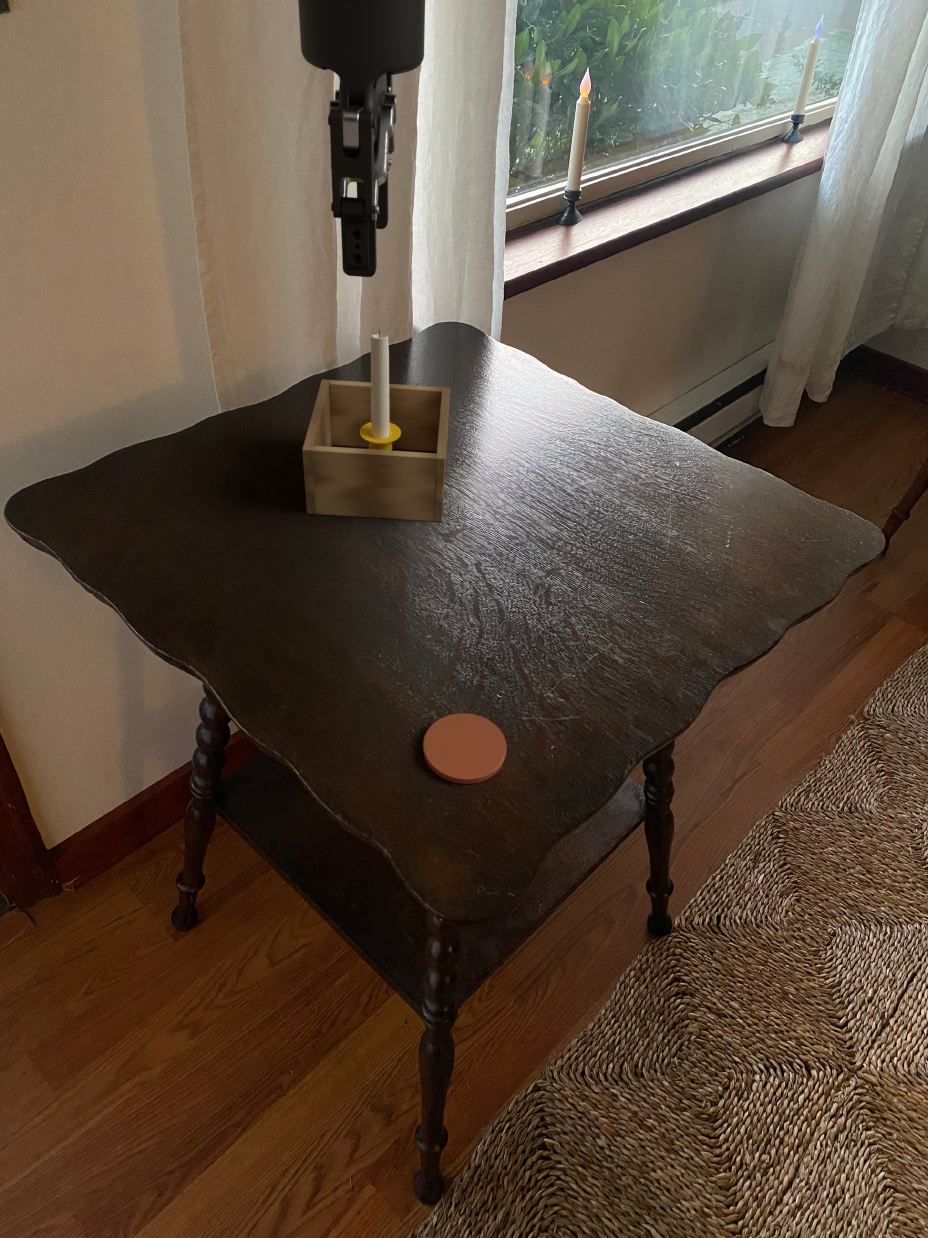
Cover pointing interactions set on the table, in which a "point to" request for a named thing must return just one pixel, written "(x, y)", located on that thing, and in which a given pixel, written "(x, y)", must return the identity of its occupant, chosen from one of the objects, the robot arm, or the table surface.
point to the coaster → (464, 748)
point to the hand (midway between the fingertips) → (366, 249)
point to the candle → (380, 398)
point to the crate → (376, 453)
